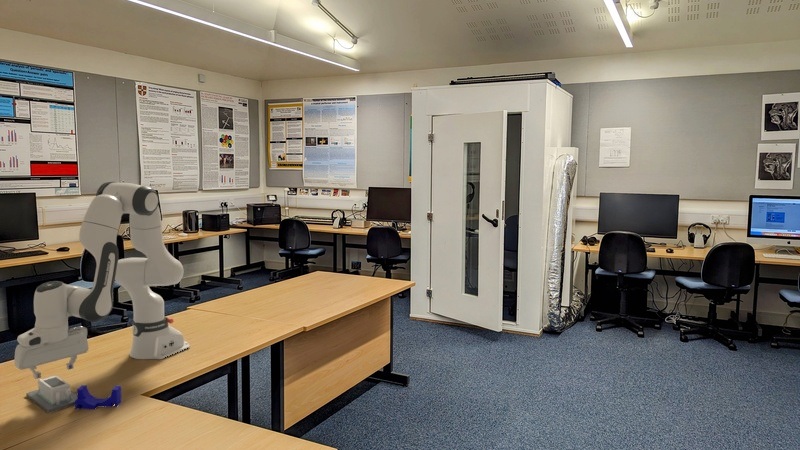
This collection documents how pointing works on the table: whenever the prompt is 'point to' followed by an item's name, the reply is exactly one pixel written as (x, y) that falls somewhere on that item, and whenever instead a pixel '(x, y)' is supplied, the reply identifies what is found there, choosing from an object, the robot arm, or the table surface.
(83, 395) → the cable clip
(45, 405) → the pin tray
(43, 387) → the block
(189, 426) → the table surface
